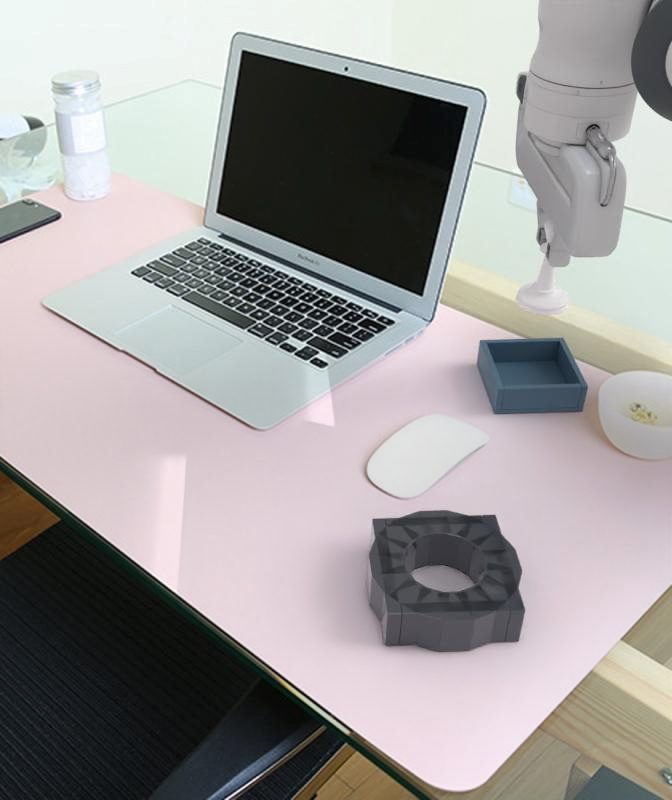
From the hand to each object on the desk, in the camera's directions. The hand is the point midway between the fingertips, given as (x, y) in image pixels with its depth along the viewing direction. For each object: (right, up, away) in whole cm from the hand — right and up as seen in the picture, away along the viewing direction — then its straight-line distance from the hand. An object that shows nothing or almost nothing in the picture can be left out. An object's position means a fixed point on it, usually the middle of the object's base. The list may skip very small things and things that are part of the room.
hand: (551, 254), depth 88 cm
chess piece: (0, -4, +3) cm, 5 cm away
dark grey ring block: (-13, -29, -13) cm, 34 cm away
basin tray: (0, -12, +9) cm, 15 cm away
